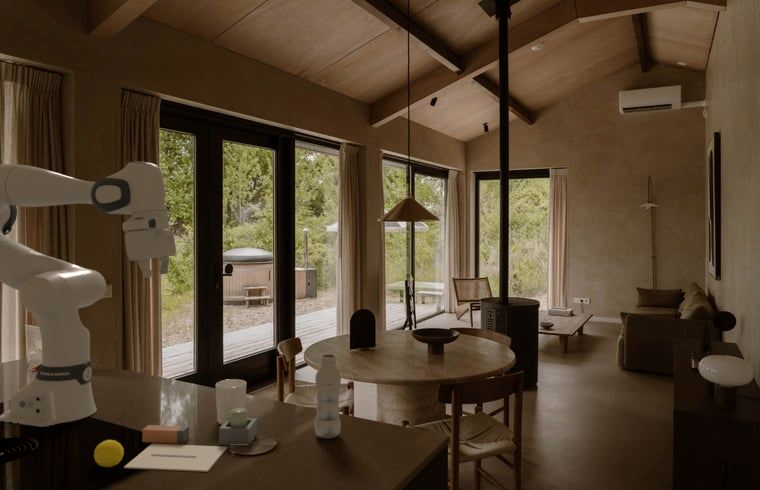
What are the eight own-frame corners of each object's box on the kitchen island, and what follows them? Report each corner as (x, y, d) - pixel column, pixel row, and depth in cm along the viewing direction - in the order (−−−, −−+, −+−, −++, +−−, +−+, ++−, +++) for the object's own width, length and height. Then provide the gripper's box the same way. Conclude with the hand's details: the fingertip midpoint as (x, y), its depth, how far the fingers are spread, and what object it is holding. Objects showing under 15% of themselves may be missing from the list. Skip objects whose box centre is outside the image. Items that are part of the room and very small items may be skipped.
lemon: (129, 465, 114) (132, 441, 113) (107, 476, 109) (110, 451, 108) (106, 455, 117) (109, 431, 116) (84, 465, 112) (86, 440, 111)
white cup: (237, 427, 135) (238, 389, 135) (209, 424, 137) (209, 386, 136) (251, 417, 143) (251, 380, 142) (224, 414, 144) (224, 378, 144)
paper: (124, 468, 111) (124, 466, 111) (151, 444, 123) (151, 443, 123) (207, 471, 110) (207, 470, 110) (227, 448, 122) (227, 446, 122)
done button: (227, 434, 125) (227, 413, 125) (233, 428, 129) (233, 407, 129) (244, 435, 125) (244, 414, 125) (249, 428, 129) (249, 408, 129)
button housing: (219, 445, 124) (219, 428, 124) (229, 433, 131) (229, 417, 131) (248, 446, 124) (248, 429, 123) (256, 434, 131) (257, 418, 130)
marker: (142, 442, 125) (142, 429, 125) (148, 437, 128) (148, 424, 128) (183, 443, 124) (183, 430, 124) (189, 438, 127) (189, 426, 127)
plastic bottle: (320, 443, 126) (321, 360, 125) (310, 433, 132) (311, 354, 131) (344, 439, 129) (346, 358, 128) (334, 429, 135) (335, 352, 134)
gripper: (157, 224, 149) (162, 273, 149) (118, 224, 128) (124, 280, 129) (179, 222, 149) (184, 271, 149) (143, 221, 128) (149, 278, 129)
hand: (156, 275), depth 139 cm, fingers open, 8 cm apart
